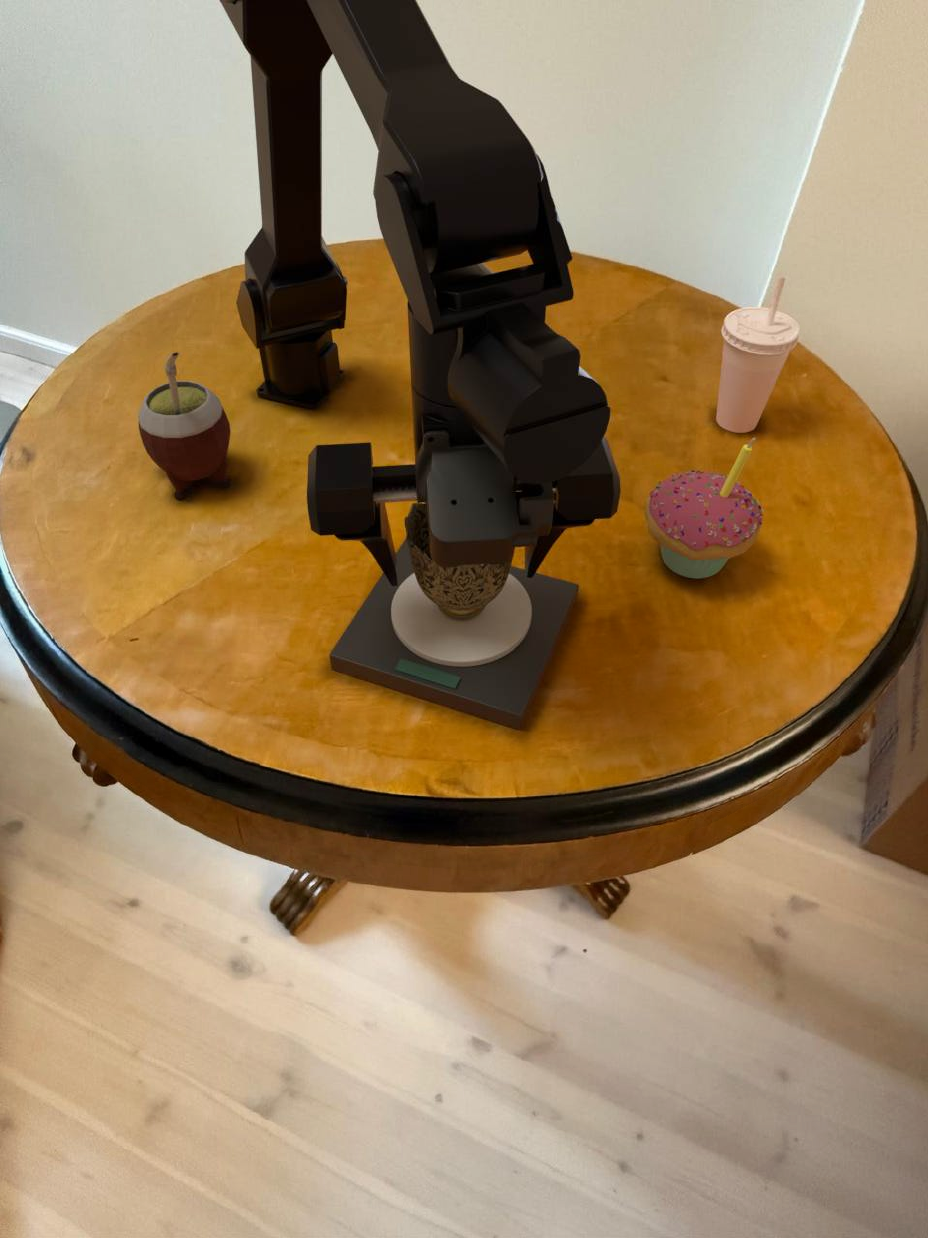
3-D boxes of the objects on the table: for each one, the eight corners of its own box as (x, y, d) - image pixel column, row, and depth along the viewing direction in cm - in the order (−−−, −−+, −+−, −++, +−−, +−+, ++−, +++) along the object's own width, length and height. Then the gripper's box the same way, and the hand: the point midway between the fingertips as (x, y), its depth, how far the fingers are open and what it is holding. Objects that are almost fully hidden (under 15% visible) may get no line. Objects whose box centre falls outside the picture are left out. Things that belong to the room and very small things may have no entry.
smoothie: (772, 445, 80) (818, 298, 70) (700, 436, 81) (734, 290, 71) (770, 405, 85) (813, 261, 74) (701, 397, 85) (734, 254, 75)
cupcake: (752, 536, 72) (793, 410, 63) (739, 609, 67) (781, 481, 58) (647, 513, 74) (672, 387, 65) (625, 582, 69) (650, 454, 60)
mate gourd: (186, 446, 80) (142, 286, 69) (263, 465, 78) (231, 304, 67) (136, 496, 75) (81, 333, 64) (217, 518, 73) (175, 354, 62)
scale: (331, 669, 63) (327, 649, 61) (407, 551, 71) (406, 530, 69) (520, 730, 59) (522, 710, 58) (577, 599, 67) (580, 578, 66)
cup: (407, 572, 66) (402, 487, 60) (506, 566, 66) (511, 481, 61) (412, 648, 61) (406, 563, 55) (519, 642, 61) (525, 557, 56)
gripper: (287, 478, 44) (323, 678, 55) (660, 457, 45) (620, 658, 57) (295, 357, 51) (325, 555, 63) (615, 342, 53) (587, 539, 64)
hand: (462, 577), depth 61 cm, fingers open, 9 cm apart
